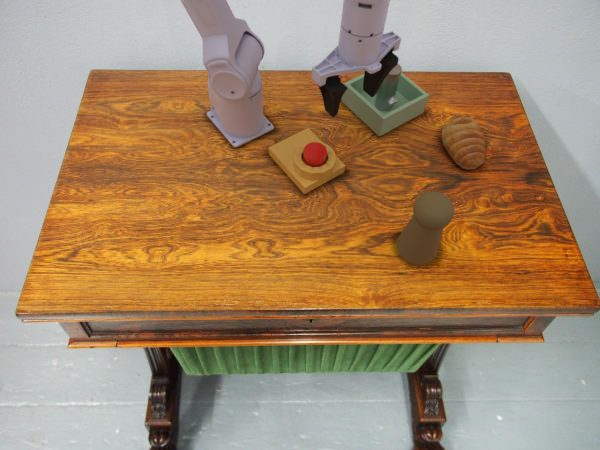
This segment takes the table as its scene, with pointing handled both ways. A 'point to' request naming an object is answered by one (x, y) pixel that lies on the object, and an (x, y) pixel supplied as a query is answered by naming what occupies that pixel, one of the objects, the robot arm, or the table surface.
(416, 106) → the green square tray
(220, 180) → the table surface
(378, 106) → the tall narrow cylinder
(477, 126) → the pastry
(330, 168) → the panel
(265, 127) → the robot arm
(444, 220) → the olive brown pawn
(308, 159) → the button
